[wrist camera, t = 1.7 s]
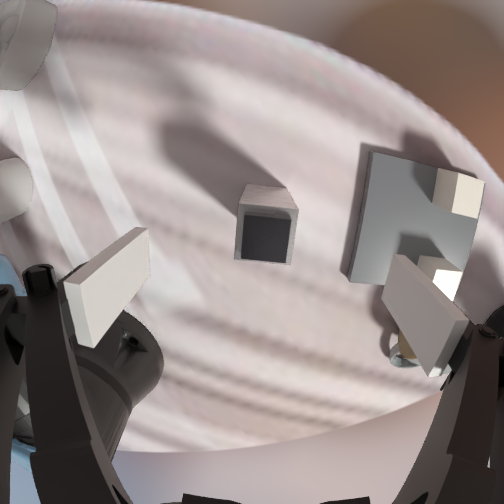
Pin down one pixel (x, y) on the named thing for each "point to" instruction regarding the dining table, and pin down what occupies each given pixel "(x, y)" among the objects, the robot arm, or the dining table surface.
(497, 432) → the robot arm
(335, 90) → the dining table surface
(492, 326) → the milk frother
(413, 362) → the ceramic mug
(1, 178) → the cup
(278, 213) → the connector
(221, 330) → the dining table surface
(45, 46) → the lumpy-topped squat cylinder
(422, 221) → the board
